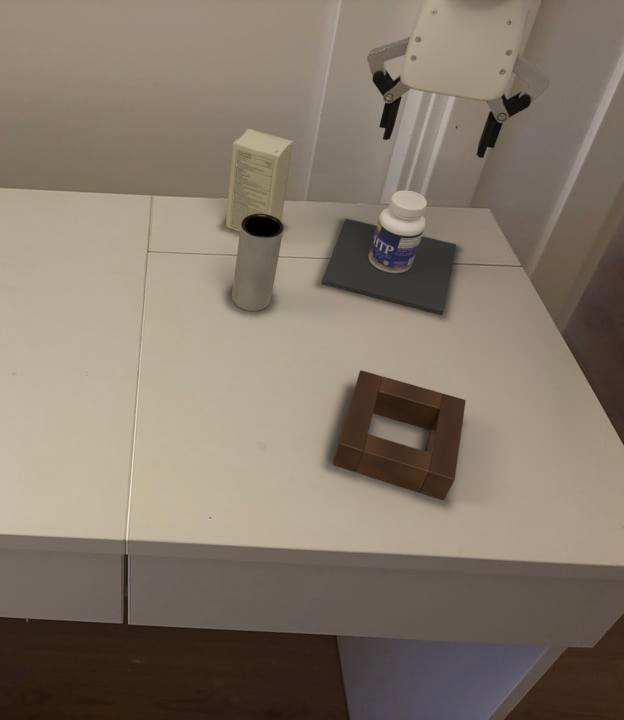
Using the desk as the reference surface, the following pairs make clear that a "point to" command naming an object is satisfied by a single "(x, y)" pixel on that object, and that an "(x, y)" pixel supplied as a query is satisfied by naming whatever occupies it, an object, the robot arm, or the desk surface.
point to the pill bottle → (398, 232)
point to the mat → (409, 288)
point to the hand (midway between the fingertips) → (433, 143)
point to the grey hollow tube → (256, 261)
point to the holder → (394, 459)
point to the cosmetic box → (257, 176)
